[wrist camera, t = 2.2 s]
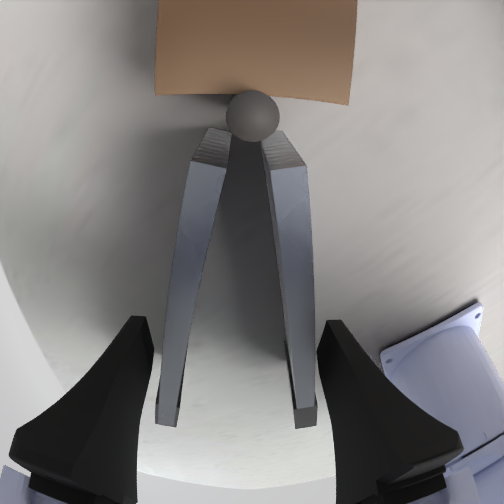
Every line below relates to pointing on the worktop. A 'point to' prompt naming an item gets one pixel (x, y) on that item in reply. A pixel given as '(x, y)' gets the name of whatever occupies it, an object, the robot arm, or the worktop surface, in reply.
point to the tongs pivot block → (256, 55)
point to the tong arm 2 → (294, 268)
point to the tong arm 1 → (189, 265)
